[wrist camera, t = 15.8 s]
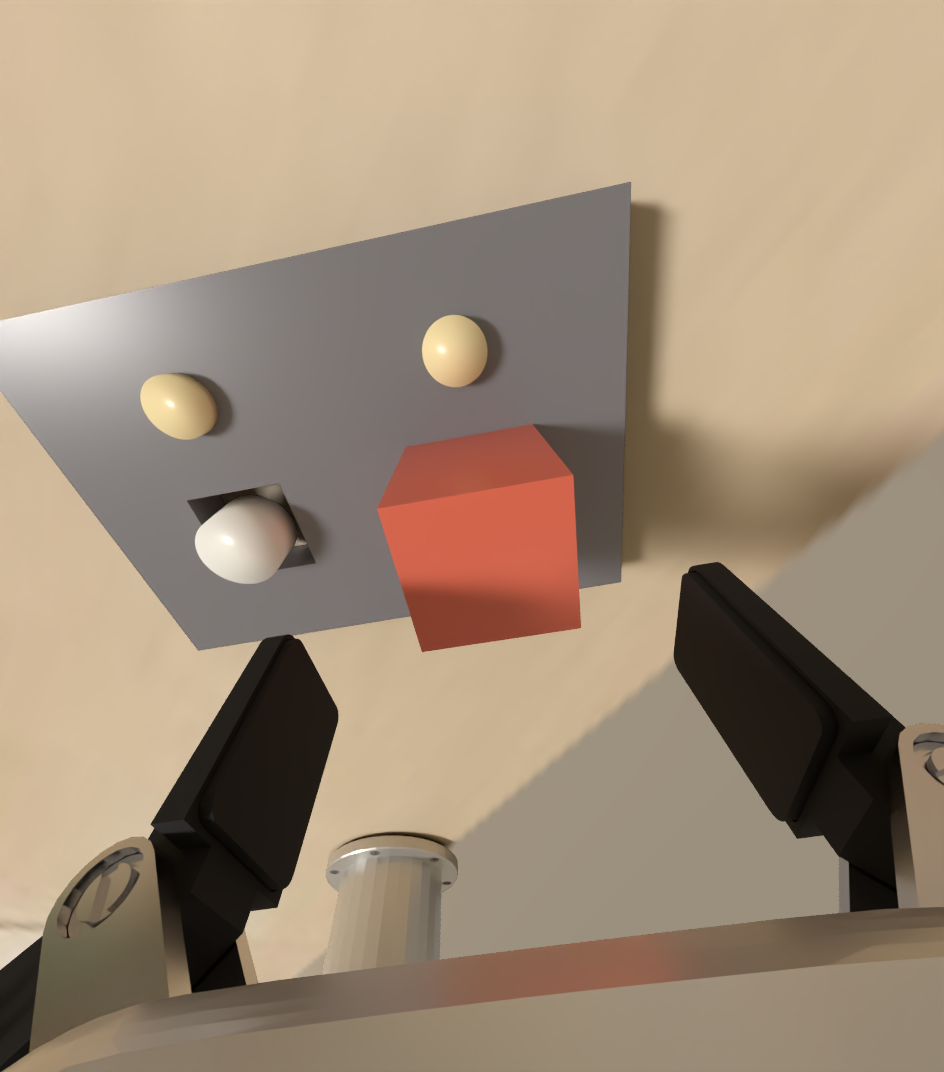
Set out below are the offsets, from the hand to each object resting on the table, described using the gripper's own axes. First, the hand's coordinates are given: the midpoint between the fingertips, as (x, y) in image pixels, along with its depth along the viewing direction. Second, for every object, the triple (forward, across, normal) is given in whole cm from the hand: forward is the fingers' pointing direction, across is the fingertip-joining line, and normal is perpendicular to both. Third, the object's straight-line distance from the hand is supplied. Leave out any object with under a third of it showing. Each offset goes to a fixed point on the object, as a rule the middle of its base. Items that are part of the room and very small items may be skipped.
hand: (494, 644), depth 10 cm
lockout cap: (+8, 0, -1) cm, 8 cm away
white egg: (+9, +10, -1) cm, 13 cm away
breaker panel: (+10, +5, -2) cm, 11 cm away
